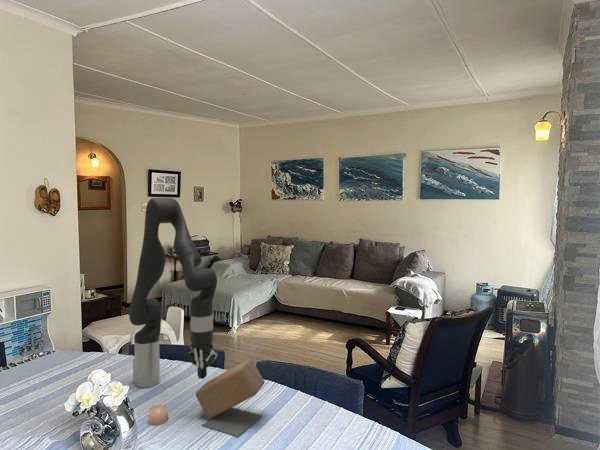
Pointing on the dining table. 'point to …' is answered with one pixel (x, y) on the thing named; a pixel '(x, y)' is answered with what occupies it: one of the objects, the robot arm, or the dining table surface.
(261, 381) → the block
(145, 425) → the dining table surface
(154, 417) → the tan rounded lump
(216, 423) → the mat
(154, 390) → the dining table surface
